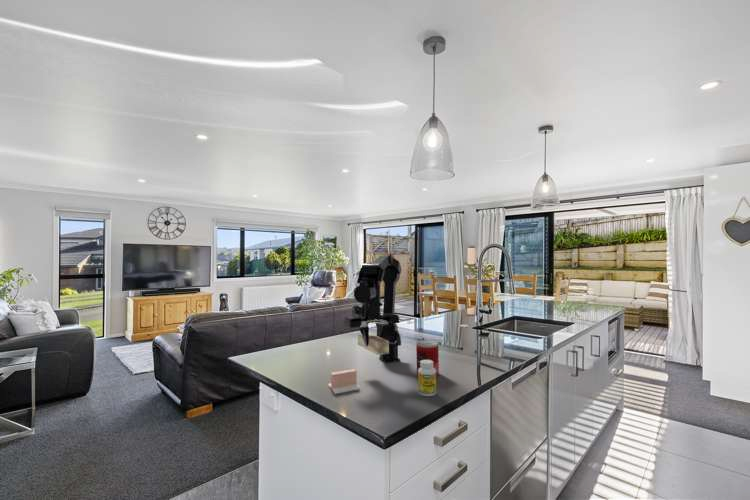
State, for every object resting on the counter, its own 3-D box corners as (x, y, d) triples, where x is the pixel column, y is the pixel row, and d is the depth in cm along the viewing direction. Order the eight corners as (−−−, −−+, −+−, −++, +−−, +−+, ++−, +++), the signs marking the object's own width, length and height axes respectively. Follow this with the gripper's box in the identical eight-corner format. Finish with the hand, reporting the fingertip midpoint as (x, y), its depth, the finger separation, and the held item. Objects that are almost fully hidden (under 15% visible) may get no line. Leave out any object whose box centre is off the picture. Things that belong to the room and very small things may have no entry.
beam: (367, 343, 124) (367, 332, 124) (388, 353, 110) (388, 341, 110) (357, 344, 122) (357, 333, 122) (377, 355, 108) (377, 342, 108)
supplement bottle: (432, 389, 106) (431, 358, 106) (439, 395, 100) (438, 363, 101) (415, 390, 104) (415, 359, 105) (422, 397, 99) (421, 364, 99)
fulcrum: (351, 381, 112) (351, 366, 113) (359, 389, 106) (359, 373, 106) (328, 386, 109) (328, 370, 109) (335, 393, 103) (335, 377, 103)
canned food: (440, 371, 122) (439, 340, 122) (436, 379, 114) (436, 346, 115) (419, 369, 124) (418, 339, 125) (414, 376, 117) (414, 344, 117)
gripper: (384, 296, 128) (385, 337, 127) (338, 299, 119) (338, 343, 119) (399, 299, 118) (400, 344, 117) (350, 302, 109) (350, 350, 109)
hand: (372, 345), depth 116 cm, fingers closed on beam, 4 cm apart
